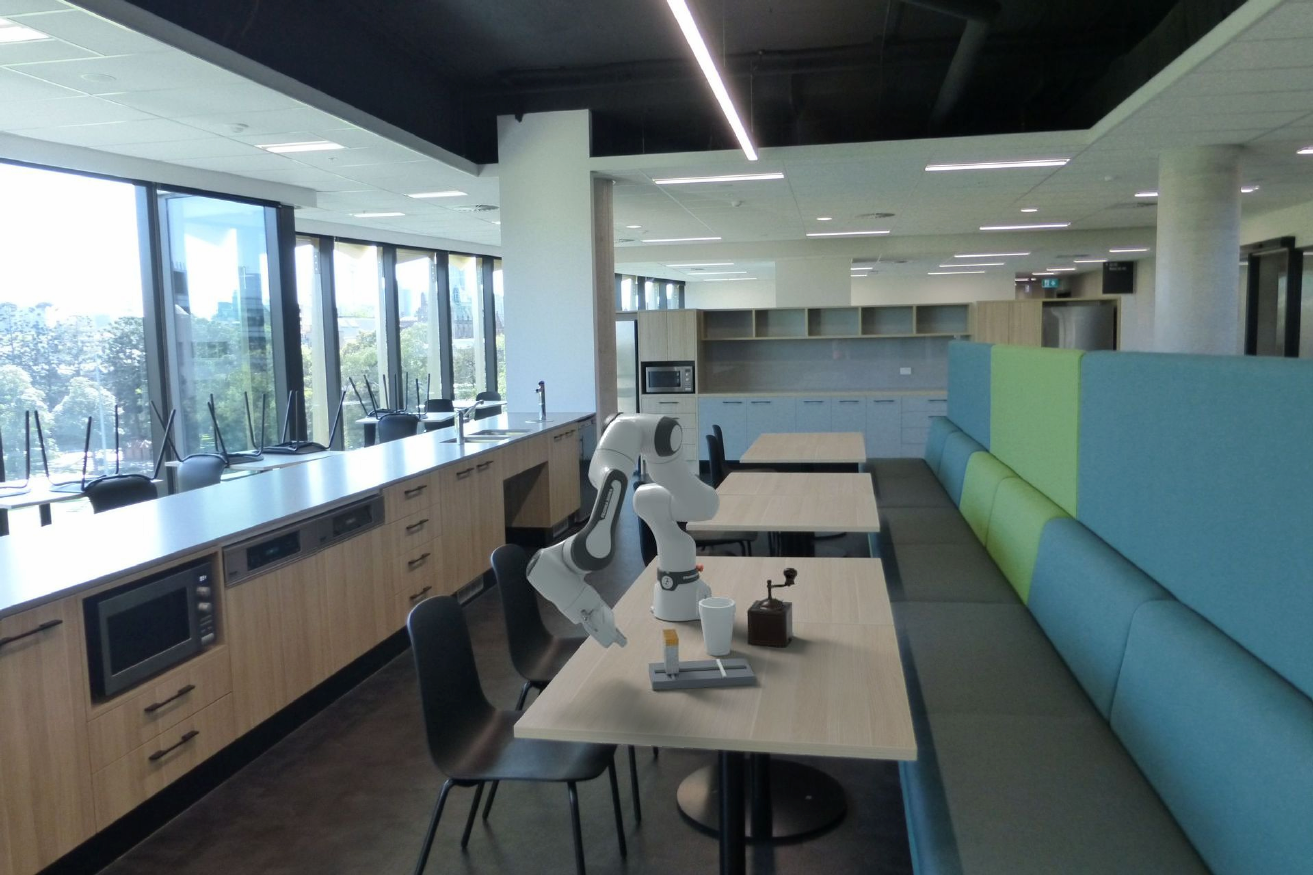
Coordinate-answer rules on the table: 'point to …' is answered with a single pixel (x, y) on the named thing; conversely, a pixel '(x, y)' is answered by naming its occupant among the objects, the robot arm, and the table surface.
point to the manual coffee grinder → (772, 617)
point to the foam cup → (717, 624)
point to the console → (702, 674)
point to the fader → (671, 651)
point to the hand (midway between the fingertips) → (625, 643)
